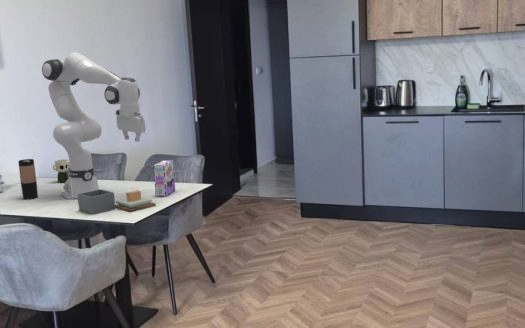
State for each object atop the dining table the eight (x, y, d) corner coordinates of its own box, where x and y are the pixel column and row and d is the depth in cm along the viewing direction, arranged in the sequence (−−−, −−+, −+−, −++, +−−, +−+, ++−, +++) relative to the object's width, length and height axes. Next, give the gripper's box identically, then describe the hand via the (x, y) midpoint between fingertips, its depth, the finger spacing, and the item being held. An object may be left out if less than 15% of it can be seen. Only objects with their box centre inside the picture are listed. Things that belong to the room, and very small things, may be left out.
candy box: (166, 196, 287) (163, 164, 284) (155, 196, 288) (152, 164, 285) (175, 190, 300) (173, 159, 297) (165, 190, 301) (162, 160, 298)
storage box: (79, 210, 267) (77, 194, 266) (102, 205, 276) (100, 189, 274) (92, 214, 259) (90, 197, 257) (115, 209, 267) (113, 192, 266)
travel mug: (25, 196, 301) (20, 159, 298) (40, 195, 302) (35, 158, 298) (20, 200, 294) (15, 162, 290) (35, 199, 295) (31, 161, 291)
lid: (116, 205, 270) (115, 192, 269) (138, 199, 278) (137, 187, 277) (130, 208, 261) (129, 196, 260) (152, 203, 270) (151, 191, 269)
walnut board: (114, 207, 270) (113, 205, 270) (139, 201, 280) (139, 199, 279) (130, 212, 260) (129, 209, 260) (155, 205, 270) (155, 203, 270)
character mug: (57, 184, 329) (55, 162, 327) (51, 183, 334) (49, 161, 332) (75, 181, 337) (72, 159, 335) (69, 179, 342) (66, 158, 339)
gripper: (147, 112, 268) (149, 141, 270) (124, 109, 282) (126, 137, 285) (136, 114, 263) (138, 143, 266) (113, 111, 278) (115, 139, 281)
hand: (132, 140), depth 276 cm, fingers open, 8 cm apart
